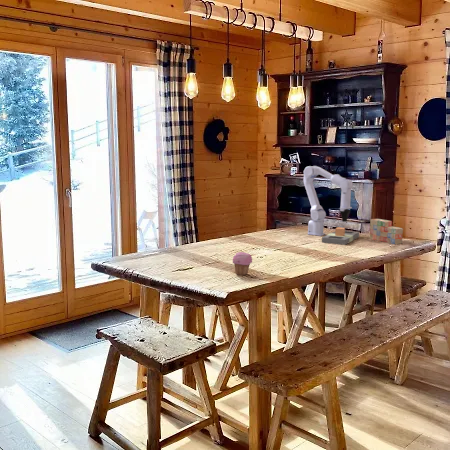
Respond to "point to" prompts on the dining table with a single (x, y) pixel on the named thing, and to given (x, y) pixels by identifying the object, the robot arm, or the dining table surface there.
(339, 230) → the block
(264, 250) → the dining table surface
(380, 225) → the stack of blocks
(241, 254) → the cupcake
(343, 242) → the trap deck
